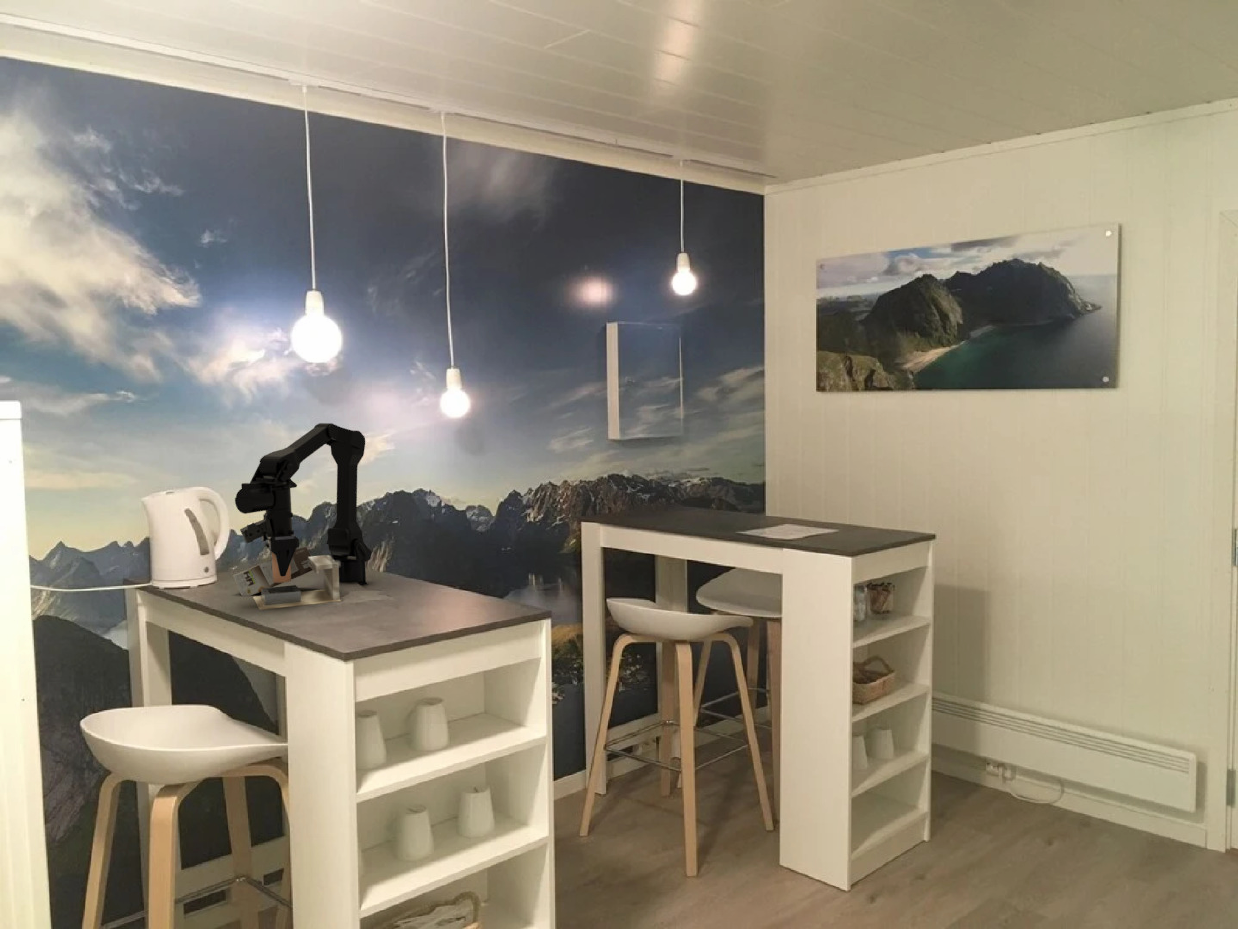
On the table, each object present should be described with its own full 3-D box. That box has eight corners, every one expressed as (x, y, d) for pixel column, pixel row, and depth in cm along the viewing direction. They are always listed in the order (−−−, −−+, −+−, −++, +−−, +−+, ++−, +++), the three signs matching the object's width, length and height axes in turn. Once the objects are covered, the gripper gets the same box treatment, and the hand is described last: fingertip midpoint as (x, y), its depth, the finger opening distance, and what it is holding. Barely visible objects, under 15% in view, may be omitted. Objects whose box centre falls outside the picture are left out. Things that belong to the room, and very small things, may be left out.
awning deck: (330, 592, 242) (328, 554, 241) (341, 605, 229) (339, 564, 228) (253, 600, 234) (251, 561, 233) (260, 613, 221) (258, 572, 220)
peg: (272, 580, 230) (270, 551, 229) (289, 578, 232) (288, 549, 231) (274, 583, 226) (272, 553, 226) (292, 581, 228) (290, 551, 228)
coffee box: (242, 599, 236) (301, 576, 234) (232, 575, 235) (290, 551, 233) (260, 591, 245) (316, 568, 243) (250, 568, 244) (306, 545, 242)
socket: (296, 595, 235) (295, 585, 235) (301, 601, 228) (300, 591, 228) (261, 598, 232) (260, 588, 231) (265, 605, 224) (264, 594, 224)
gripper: (237, 507, 233) (241, 572, 234) (245, 515, 216) (249, 585, 217) (286, 504, 238) (290, 567, 239) (298, 511, 221) (301, 579, 222)
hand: (281, 574), depth 229 cm, fingers closed on peg, 4 cm apart
